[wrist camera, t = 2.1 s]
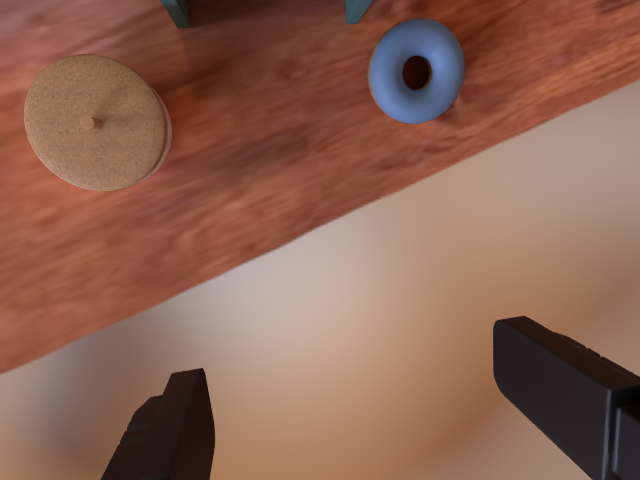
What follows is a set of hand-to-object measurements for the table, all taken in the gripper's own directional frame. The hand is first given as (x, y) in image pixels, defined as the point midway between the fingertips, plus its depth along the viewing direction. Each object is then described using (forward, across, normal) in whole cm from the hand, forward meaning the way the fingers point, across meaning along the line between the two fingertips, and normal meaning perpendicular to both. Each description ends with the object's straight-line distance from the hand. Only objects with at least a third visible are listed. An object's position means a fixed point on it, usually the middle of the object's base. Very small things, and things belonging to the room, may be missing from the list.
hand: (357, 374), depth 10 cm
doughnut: (+34, -15, -13) cm, 39 cm away
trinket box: (+34, +15, -10) cm, 38 cm away
